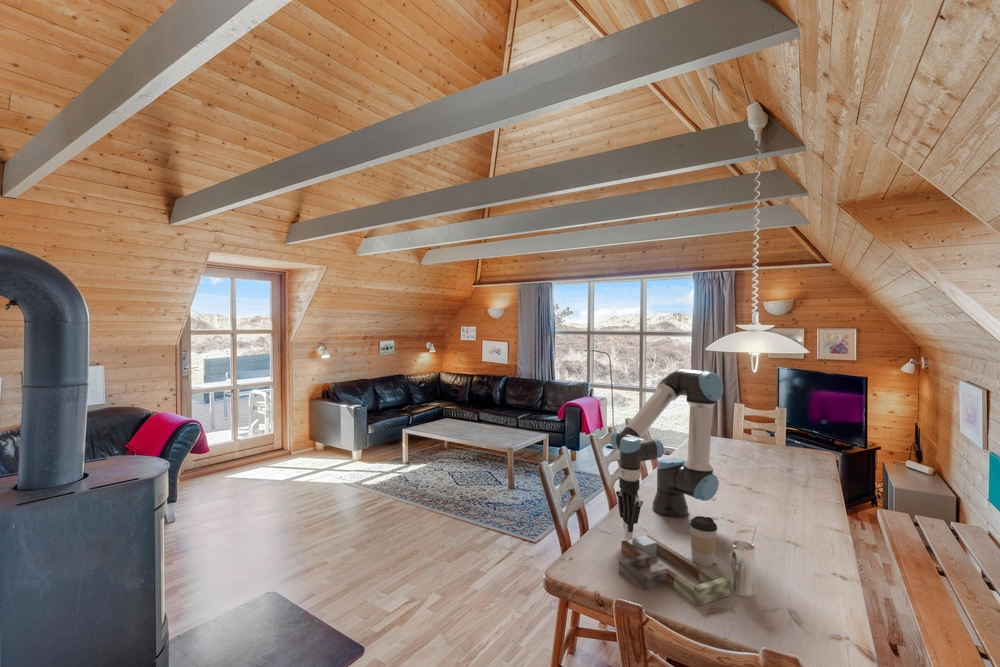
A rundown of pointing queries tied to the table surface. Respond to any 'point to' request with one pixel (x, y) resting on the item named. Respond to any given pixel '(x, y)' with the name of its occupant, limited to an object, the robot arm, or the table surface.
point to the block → (645, 545)
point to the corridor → (672, 574)
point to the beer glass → (742, 567)
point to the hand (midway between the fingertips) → (628, 538)
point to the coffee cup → (703, 539)
